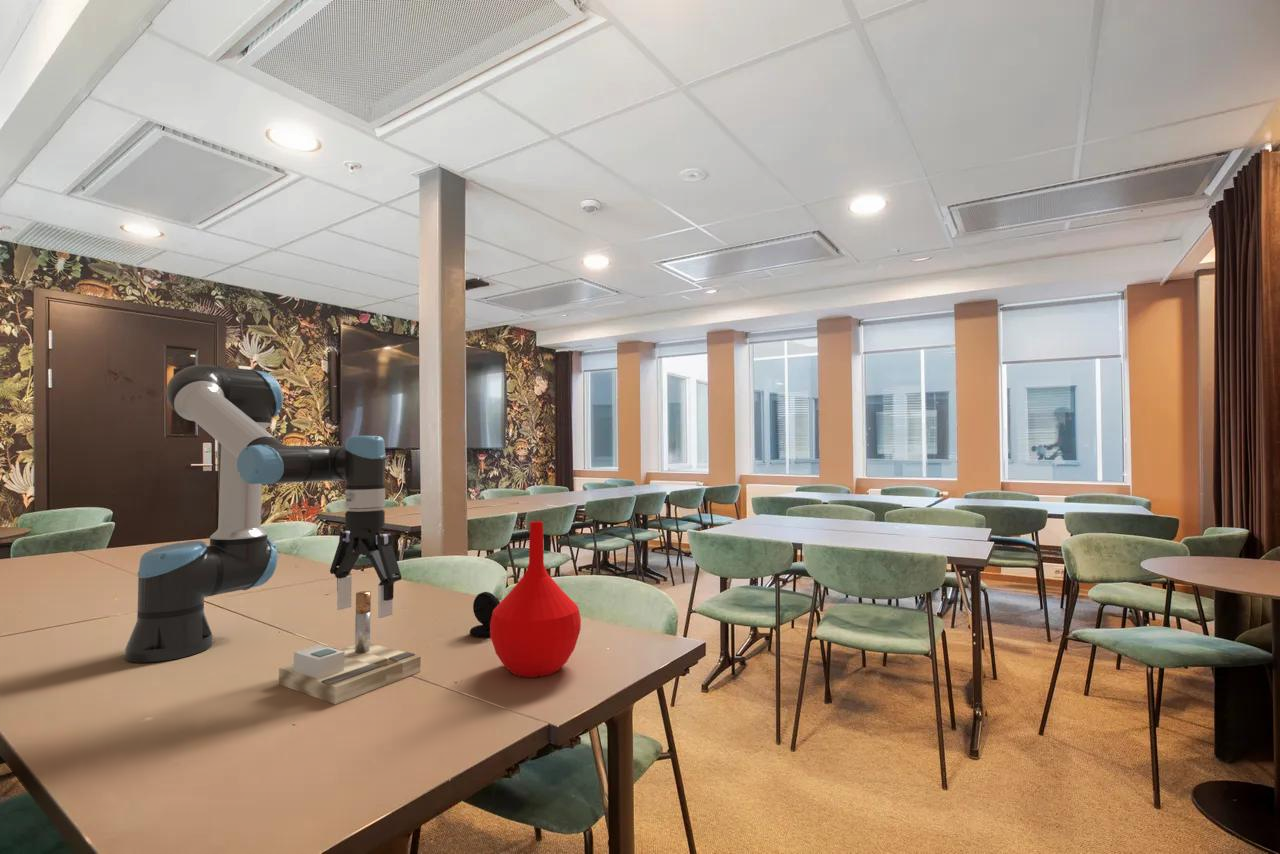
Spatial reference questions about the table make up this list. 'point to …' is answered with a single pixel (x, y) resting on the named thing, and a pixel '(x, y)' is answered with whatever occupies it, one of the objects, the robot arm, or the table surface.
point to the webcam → (483, 613)
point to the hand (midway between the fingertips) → (364, 612)
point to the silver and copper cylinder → (362, 622)
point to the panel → (354, 674)
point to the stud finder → (318, 661)
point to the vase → (535, 619)
